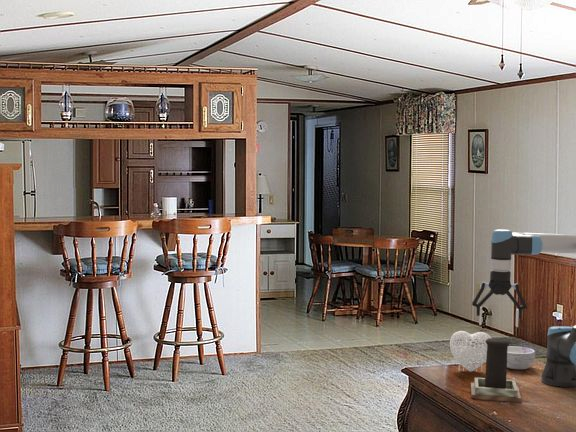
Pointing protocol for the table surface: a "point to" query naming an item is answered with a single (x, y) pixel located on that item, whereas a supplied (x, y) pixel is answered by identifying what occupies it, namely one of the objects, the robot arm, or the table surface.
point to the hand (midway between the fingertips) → (498, 325)
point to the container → (496, 363)
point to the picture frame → (495, 391)
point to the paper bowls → (520, 357)
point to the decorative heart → (469, 349)
